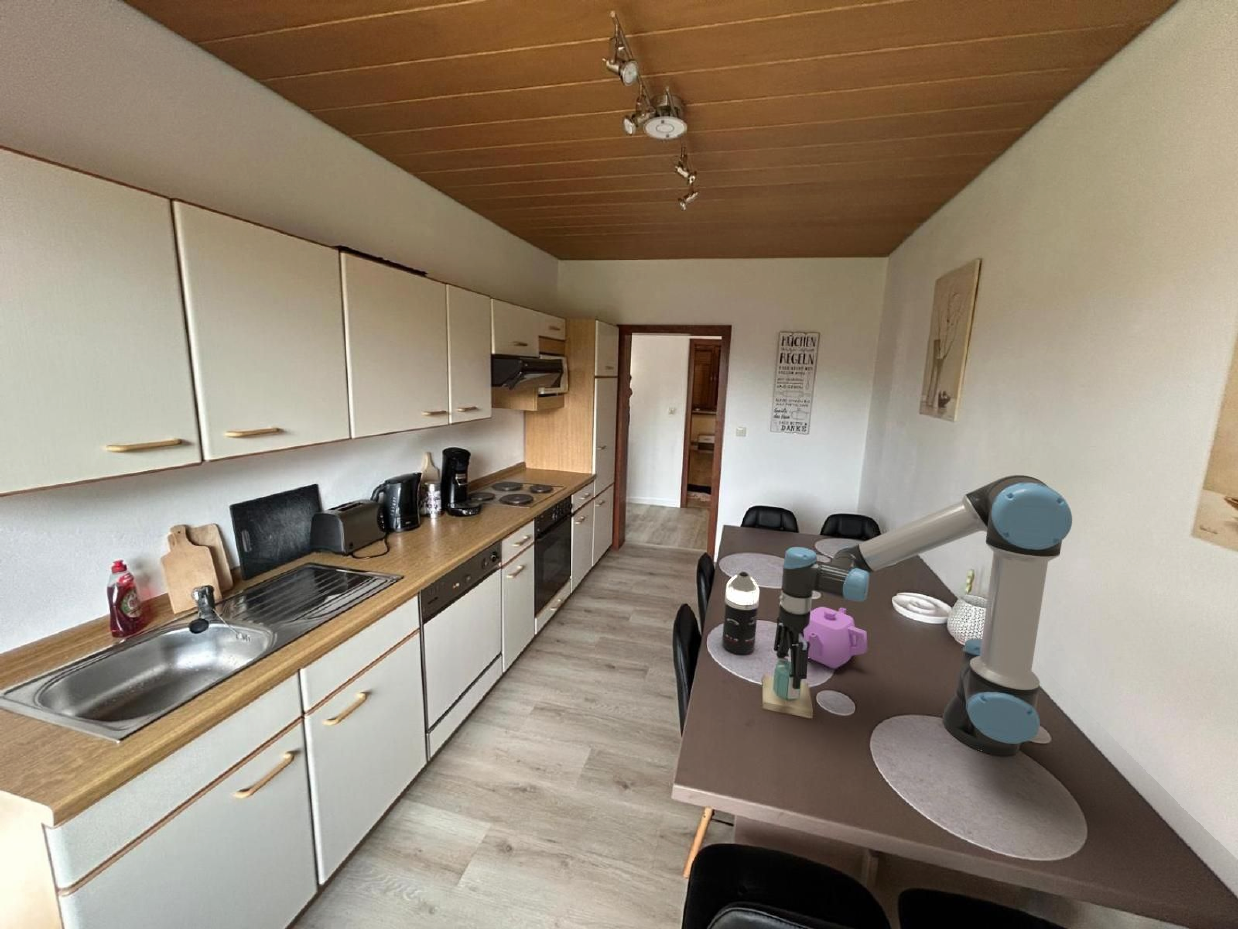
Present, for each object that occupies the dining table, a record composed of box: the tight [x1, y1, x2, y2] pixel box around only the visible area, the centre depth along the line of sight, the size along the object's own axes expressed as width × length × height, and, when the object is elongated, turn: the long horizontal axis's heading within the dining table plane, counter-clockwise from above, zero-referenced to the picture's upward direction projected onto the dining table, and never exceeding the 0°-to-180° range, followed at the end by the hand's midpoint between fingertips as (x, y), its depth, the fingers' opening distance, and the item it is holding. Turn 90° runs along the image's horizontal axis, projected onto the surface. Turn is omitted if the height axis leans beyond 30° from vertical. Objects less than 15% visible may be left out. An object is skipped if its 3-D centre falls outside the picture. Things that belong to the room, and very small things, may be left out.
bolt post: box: [761, 674, 814, 719], centre depth 128 cm, size 12×12×8 cm
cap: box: [773, 660, 803, 700], centre depth 128 cm, size 6×6×8 cm
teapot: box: [804, 606, 868, 670], centre depth 148 cm, size 19×18×15 cm
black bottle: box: [721, 571, 760, 655], centre depth 151 cm, size 10×10×25 cm
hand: (786, 688), depth 128 cm, fingers closed on cap, 6 cm apart
